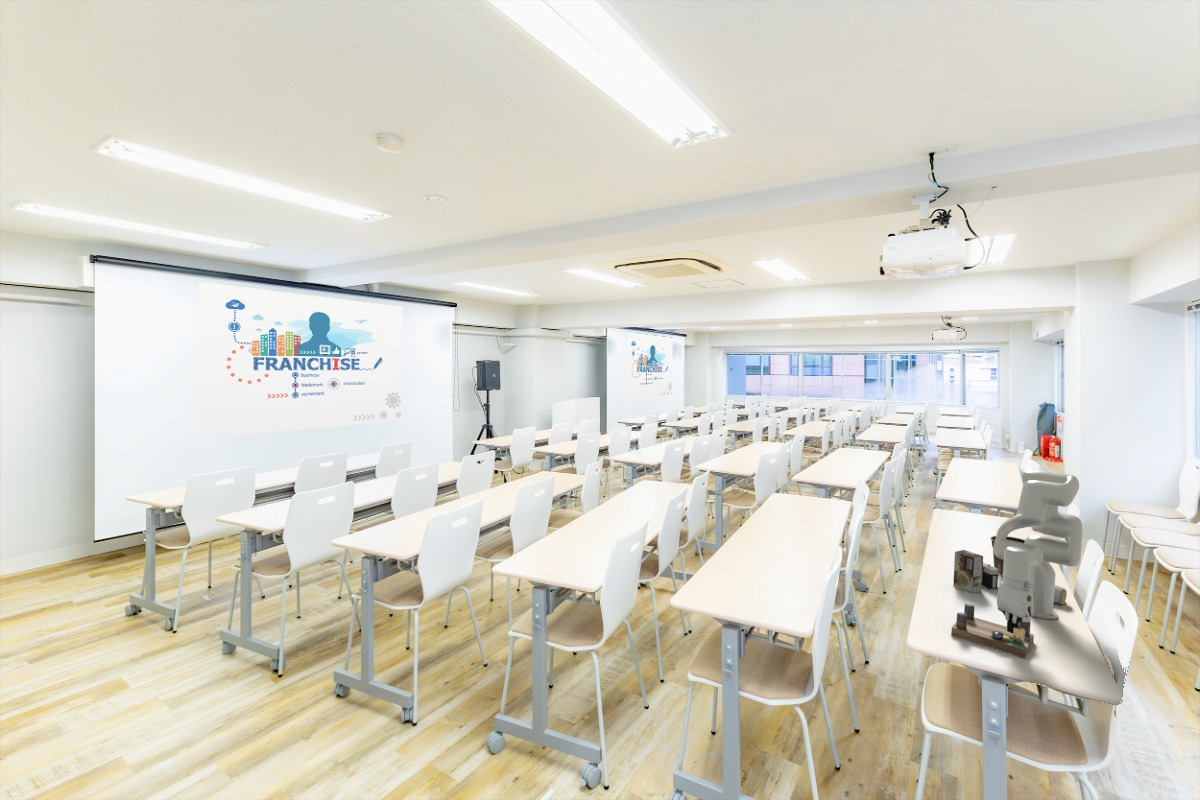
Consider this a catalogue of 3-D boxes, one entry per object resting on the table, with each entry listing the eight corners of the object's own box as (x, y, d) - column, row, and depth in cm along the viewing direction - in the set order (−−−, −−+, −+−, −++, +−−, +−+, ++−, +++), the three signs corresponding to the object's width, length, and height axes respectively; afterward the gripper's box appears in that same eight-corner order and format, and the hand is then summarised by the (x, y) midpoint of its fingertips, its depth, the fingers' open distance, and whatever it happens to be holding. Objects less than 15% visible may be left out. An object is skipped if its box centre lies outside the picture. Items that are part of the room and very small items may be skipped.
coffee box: (982, 591, 242) (984, 556, 241) (972, 593, 240) (974, 557, 239) (962, 583, 251) (963, 549, 250) (952, 585, 248) (954, 551, 247)
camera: (1006, 589, 244) (1006, 567, 243) (986, 590, 244) (986, 568, 243) (984, 577, 258) (984, 557, 257) (965, 578, 258) (965, 557, 257)
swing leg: (992, 638, 194) (993, 624, 193) (991, 634, 196) (992, 621, 196) (1024, 645, 189) (1025, 631, 188) (1023, 641, 191) (1024, 628, 191)
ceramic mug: (1061, 607, 227) (1062, 589, 227) (1037, 600, 234) (1038, 582, 233) (1069, 601, 233) (1070, 584, 233) (1045, 594, 240) (1046, 577, 239)
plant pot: (981, 569, 268) (983, 537, 267) (1000, 564, 275) (1002, 533, 274) (1017, 581, 253) (1020, 548, 252) (1037, 576, 260) (1039, 543, 259)
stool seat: (962, 621, 213) (963, 601, 213) (1033, 642, 197) (1034, 621, 197) (951, 635, 202) (952, 614, 202) (1025, 658, 186) (1026, 636, 186)
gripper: (1045, 589, 187) (1042, 640, 189) (1002, 573, 202) (999, 621, 203) (1030, 592, 185) (1026, 643, 186) (987, 575, 199) (984, 623, 201)
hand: (1012, 631), depth 195 cm, fingers closed
